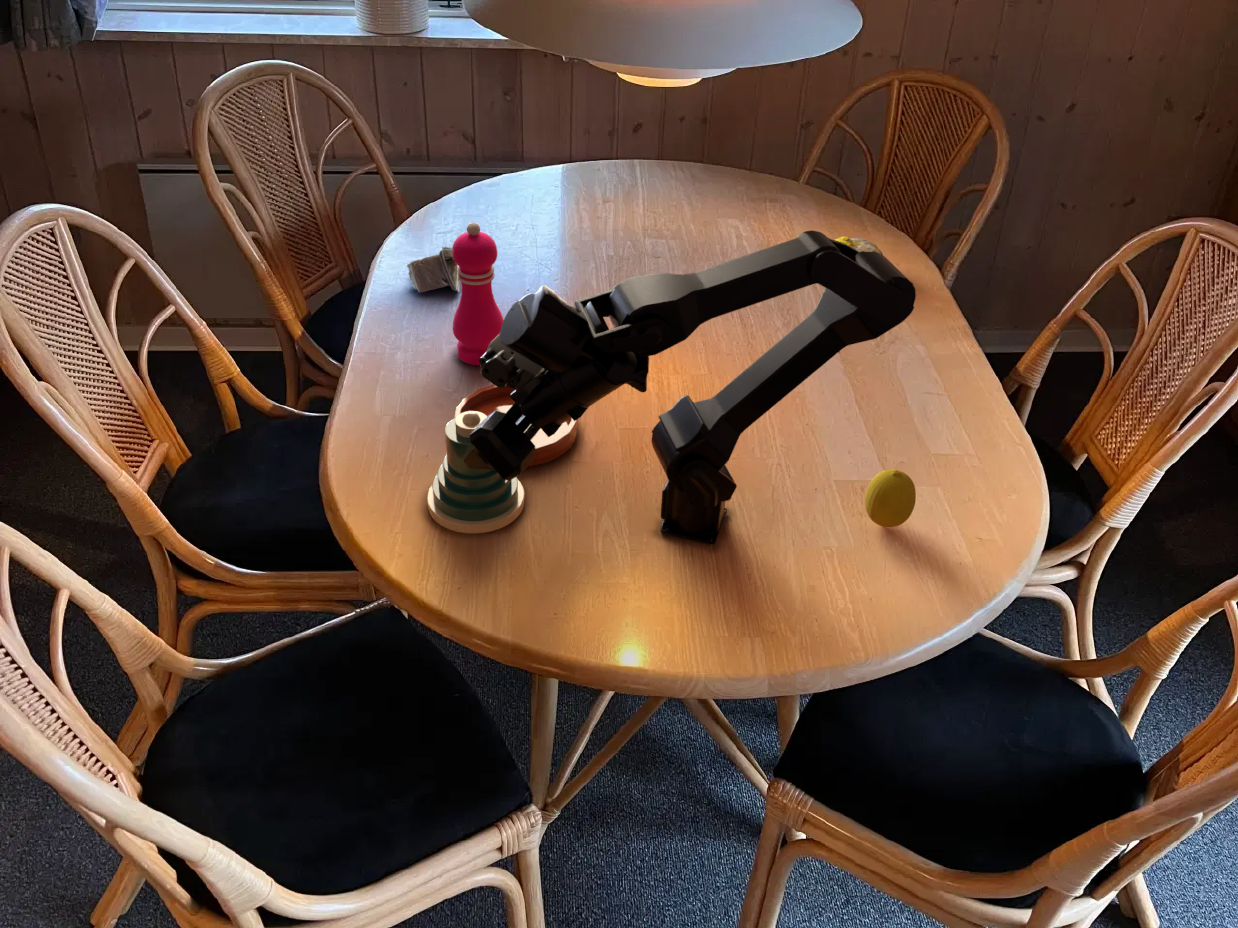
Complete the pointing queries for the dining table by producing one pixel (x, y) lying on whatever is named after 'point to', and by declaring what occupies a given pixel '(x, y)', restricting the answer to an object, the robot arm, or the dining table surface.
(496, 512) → the tagine lid
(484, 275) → the pepper mill
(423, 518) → the dining table surface
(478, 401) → the tagine base
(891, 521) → the lemon
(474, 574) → the dining table surface
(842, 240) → the fruit
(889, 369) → the dining table surface
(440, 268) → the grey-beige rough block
